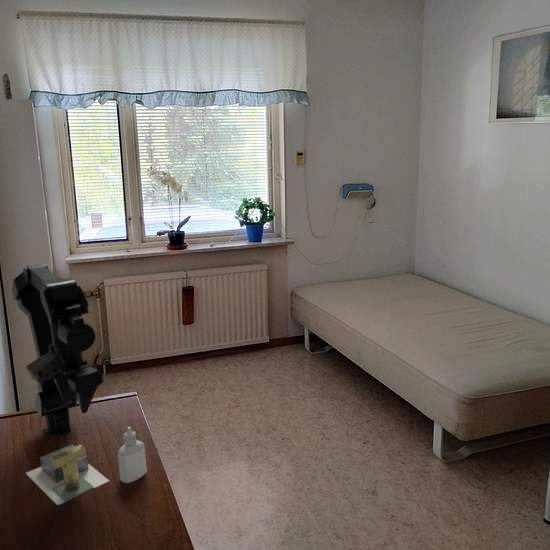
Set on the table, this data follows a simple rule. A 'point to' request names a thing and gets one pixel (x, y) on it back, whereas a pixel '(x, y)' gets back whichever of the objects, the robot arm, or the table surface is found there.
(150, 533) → the table surface
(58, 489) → the mat
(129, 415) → the table surface
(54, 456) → the tan flat lever
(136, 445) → the eye dropper bottle
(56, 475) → the grey square frame
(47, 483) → the board
